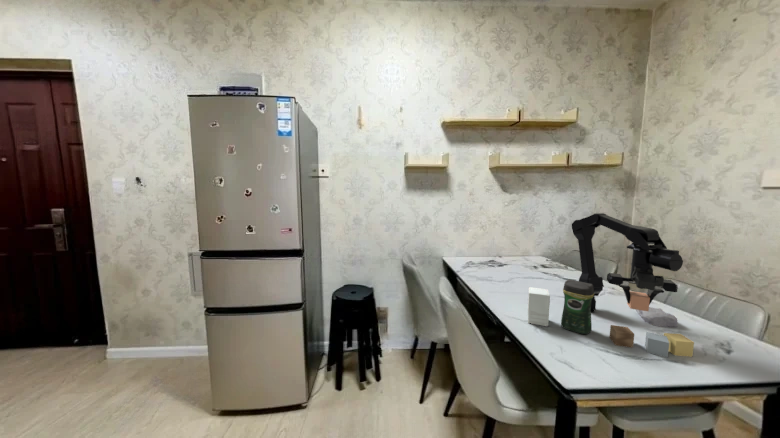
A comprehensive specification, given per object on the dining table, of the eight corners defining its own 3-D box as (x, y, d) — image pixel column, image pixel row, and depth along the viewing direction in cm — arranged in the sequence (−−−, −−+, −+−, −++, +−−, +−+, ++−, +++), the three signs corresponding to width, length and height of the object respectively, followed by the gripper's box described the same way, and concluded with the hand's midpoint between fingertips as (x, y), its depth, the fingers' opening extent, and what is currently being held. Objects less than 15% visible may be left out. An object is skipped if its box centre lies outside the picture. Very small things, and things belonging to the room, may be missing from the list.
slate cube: (646, 352, 94) (648, 338, 94) (644, 345, 98) (646, 331, 98) (667, 357, 91) (669, 343, 91) (664, 350, 95) (666, 336, 95)
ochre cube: (674, 355, 92) (676, 340, 92) (662, 346, 97) (663, 333, 97) (692, 356, 92) (694, 342, 91) (679, 348, 97) (680, 334, 96)
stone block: (651, 330, 112) (681, 327, 110) (649, 318, 112) (679, 315, 110) (631, 317, 124) (658, 315, 122) (630, 306, 123) (656, 304, 121)
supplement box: (547, 319, 118) (548, 289, 116) (548, 327, 111) (550, 295, 109) (527, 315, 121) (528, 286, 119) (527, 323, 114) (528, 292, 112)
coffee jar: (593, 329, 109) (597, 282, 107) (587, 337, 103) (592, 287, 101) (564, 321, 116) (567, 276, 114) (558, 327, 110) (561, 281, 108)
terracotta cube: (630, 308, 104) (631, 295, 104) (627, 303, 109) (628, 290, 108) (648, 311, 102) (649, 297, 101) (644, 306, 106) (645, 293, 106)
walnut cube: (615, 345, 98) (616, 331, 98) (609, 338, 103) (610, 324, 102) (632, 348, 97) (634, 334, 96) (626, 340, 102) (627, 327, 101)
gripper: (614, 265, 101) (610, 307, 103) (687, 272, 92) (681, 319, 94) (608, 258, 111) (604, 297, 112) (673, 264, 102) (668, 306, 104)
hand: (637, 304), depth 105 cm, fingers closed on terracotta cube, 5 cm apart
